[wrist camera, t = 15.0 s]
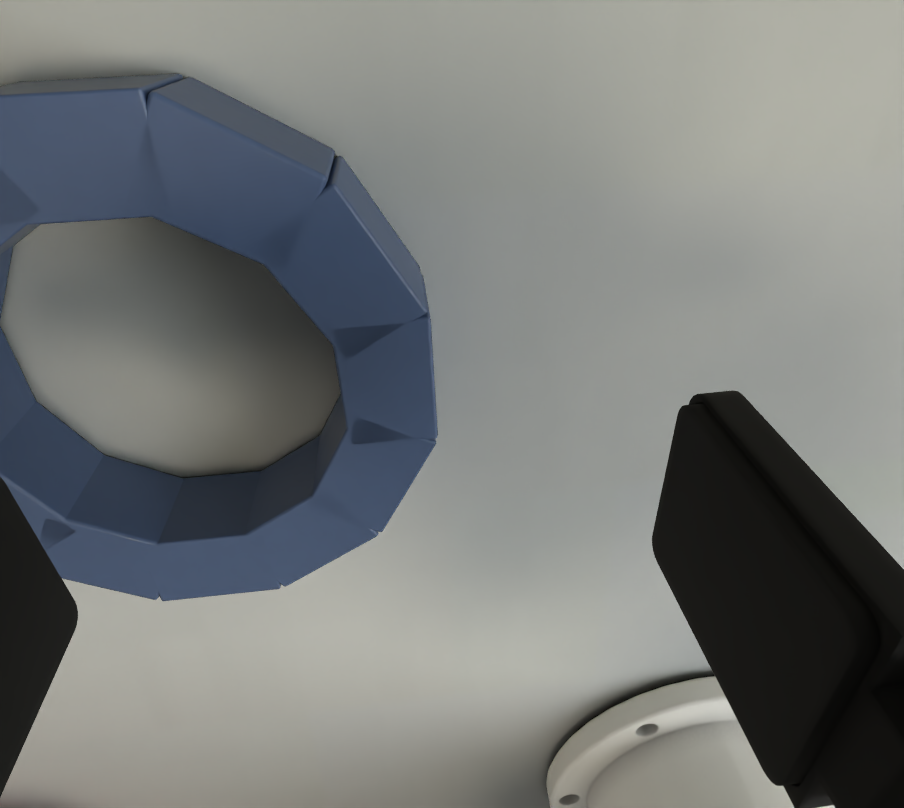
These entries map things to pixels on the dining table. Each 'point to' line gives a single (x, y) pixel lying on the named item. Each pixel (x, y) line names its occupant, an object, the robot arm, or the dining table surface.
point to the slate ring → (297, 270)
